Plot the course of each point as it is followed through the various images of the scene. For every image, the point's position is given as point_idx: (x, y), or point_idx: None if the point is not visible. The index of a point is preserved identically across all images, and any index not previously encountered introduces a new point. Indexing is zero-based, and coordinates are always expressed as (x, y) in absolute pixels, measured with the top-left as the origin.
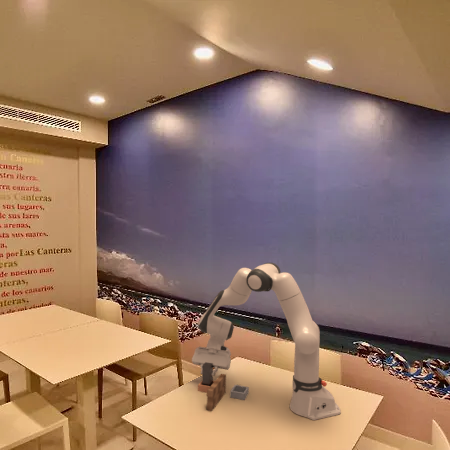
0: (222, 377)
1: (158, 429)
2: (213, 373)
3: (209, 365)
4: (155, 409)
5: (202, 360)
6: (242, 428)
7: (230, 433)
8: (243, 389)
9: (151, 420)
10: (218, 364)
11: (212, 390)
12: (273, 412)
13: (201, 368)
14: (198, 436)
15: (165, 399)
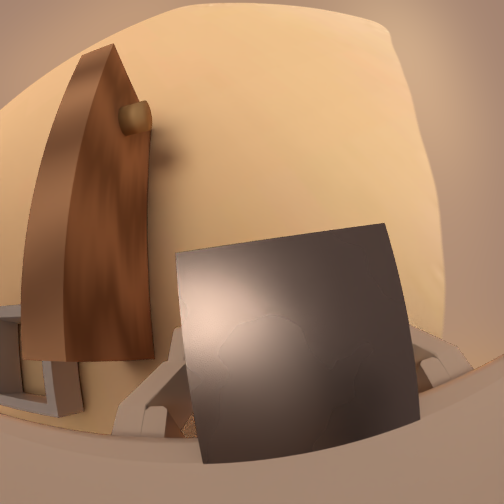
0: (29, 263)
1: (263, 11)
2: (172, 340)
3: (215, 297)
4: (364, 57)
5: (502, 405)
6: (18, 132)
7: (49, 94)
8: (21, 396)
9: (317, 23)
10: (65, 447)
11: (81, 58)
12: None
13: (411, 331)
14: (134, 39)
15: (402, 117)
